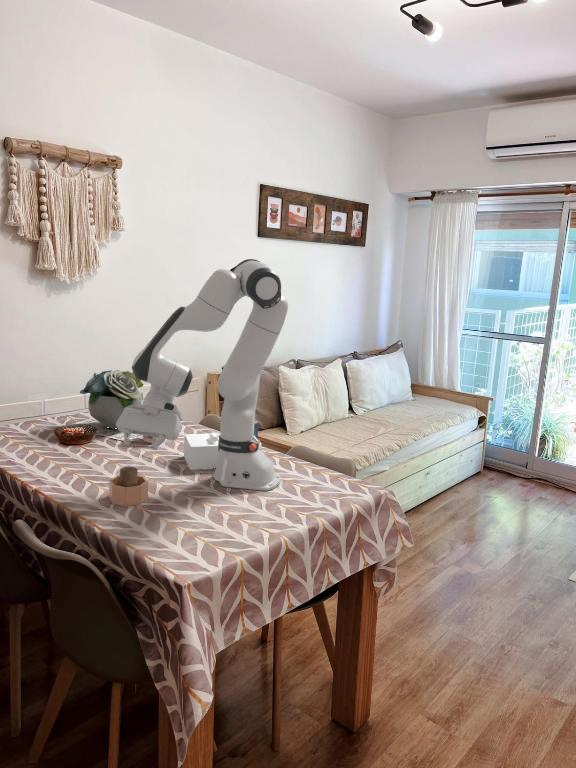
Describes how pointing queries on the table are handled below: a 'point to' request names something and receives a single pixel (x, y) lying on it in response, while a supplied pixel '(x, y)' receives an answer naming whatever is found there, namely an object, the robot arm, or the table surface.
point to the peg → (128, 476)
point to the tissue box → (202, 450)
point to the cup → (128, 492)
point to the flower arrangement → (112, 395)
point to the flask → (256, 429)
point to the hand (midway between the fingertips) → (139, 446)
